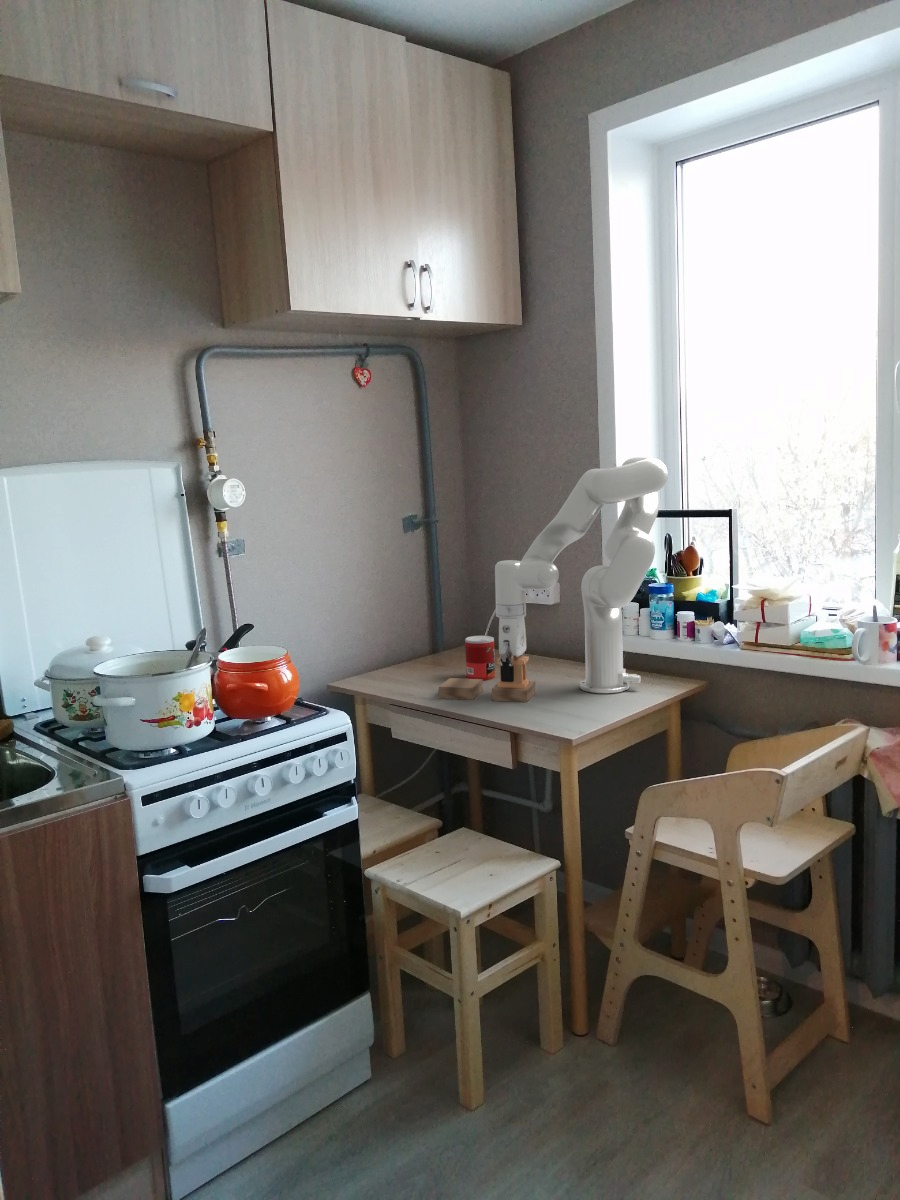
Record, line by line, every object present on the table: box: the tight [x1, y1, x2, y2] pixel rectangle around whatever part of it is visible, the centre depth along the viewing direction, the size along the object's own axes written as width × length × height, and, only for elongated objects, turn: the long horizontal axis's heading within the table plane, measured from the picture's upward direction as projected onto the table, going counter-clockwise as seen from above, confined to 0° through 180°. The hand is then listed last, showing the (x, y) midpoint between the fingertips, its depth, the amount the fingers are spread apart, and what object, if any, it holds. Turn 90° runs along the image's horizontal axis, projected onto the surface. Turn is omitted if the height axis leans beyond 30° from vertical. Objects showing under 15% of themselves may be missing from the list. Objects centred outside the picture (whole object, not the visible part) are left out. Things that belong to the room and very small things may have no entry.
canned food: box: [464, 635, 496, 681], centre depth 260 cm, size 8×8×11 cm
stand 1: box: [438, 677, 484, 701], centre depth 244 cm, size 9×9×3 cm
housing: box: [496, 655, 530, 688], centre depth 239 cm, size 7×5×7 cm
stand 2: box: [491, 680, 536, 703], centre depth 240 cm, size 9×9×3 cm
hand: (512, 676), depth 239 cm, fingers open, 9 cm apart
